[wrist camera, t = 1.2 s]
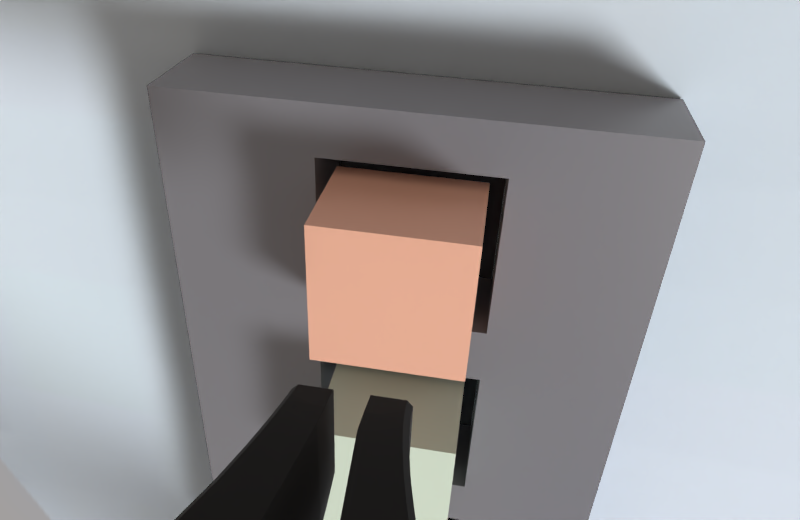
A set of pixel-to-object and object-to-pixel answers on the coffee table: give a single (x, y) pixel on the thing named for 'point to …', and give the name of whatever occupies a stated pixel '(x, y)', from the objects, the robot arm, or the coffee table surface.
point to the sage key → (429, 434)
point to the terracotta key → (394, 271)
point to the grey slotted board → (496, 298)
